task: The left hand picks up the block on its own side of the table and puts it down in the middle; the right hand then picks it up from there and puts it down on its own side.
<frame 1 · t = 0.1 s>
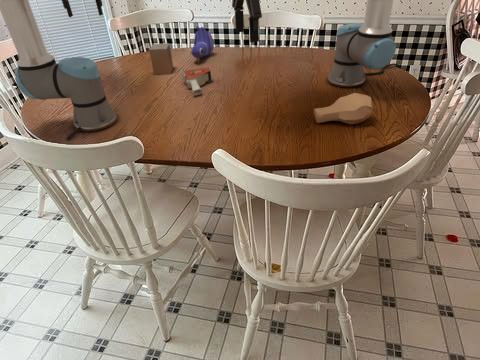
left hand: (86, 15, 157), 28 cm above the table, tool pointing down, fingers open, 13 cm apart
right hand: (246, 36, 115), 28 cm above the table, tool pointing down, fingers open, 13 cm apart
block: (163, 71, 177), on the table
toy: (202, 58, 190), on the table
squash: (342, 120, 124), on the table
tape dispenser: (195, 86, 158), on the table
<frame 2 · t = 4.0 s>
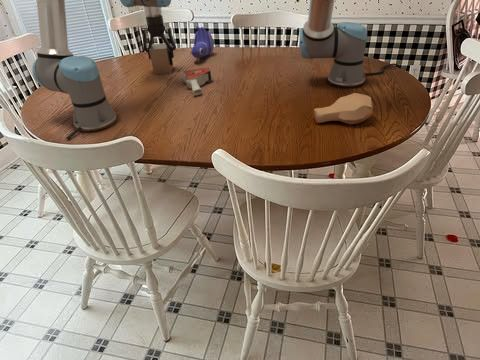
left hand: (162, 65, 175), 3 cm above the table, tool pointing down, fingers closed on block, 8 cm apart
right hand: (312, 0, 163), 27 cm above the table, tool pointing down, fingers open, 13 cm apart
block: (163, 71, 177), on the table, touching left hand
everything else where it was.
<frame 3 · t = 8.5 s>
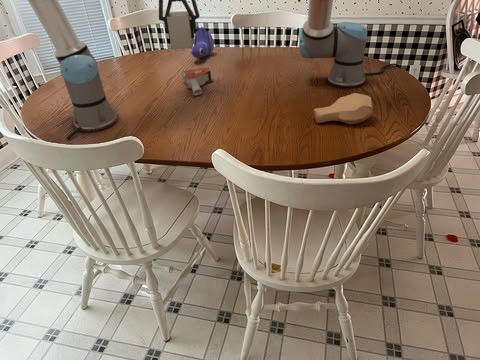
left hand: (182, 38, 142), 22 cm above the table, tool pointing down, fingers closed on block, 8 cm apart
right hand: (313, 0, 164), 27 cm above the table, tool pointing down, fingers open, 13 cm apart
block: (183, 45, 144), point 19 cm above the table, touching left hand
everything else where it was.
when the left hand's fingers open (4 cm above the table, at t = 13.0 s): block drops 1 cm, on the table.
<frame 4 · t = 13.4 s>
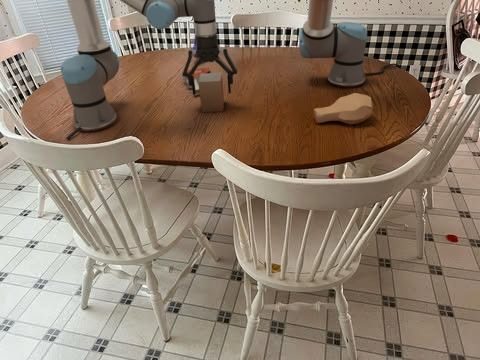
left hand: (212, 92, 136), 6 cm above the table, tool pointing down, fingers open, 13 cm apart
right hand: (313, 0, 164), 27 cm above the table, tool pointing down, fingers open, 13 cm apart
block: (213, 106, 139), on the table
everything else where it was.
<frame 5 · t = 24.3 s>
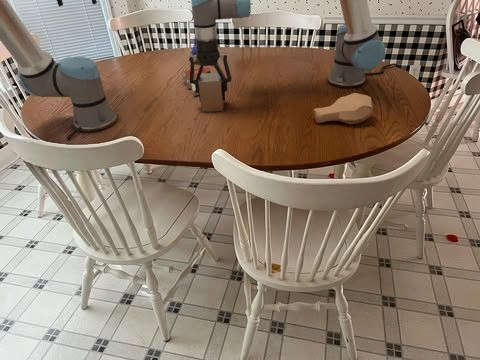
left hand: (78, 4, 140), 35 cm above the table, tool pointing down, fingers open, 13 cm apart
right hand: (212, 99, 137), 3 cm above the table, tool pointing down, fingers closed on block, 8 cm apart
block: (213, 106, 139), on the table, touching right hand
everything else where it was.
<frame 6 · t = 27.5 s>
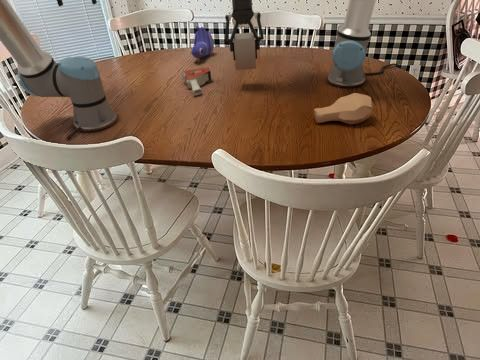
left hand: (78, 4, 140), 35 cm above the table, tool pointing down, fingers open, 13 cm apart
right hand: (245, 58, 146), 12 cm above the table, tool pointing down, fingers closed on block, 8 cm apart
block: (245, 65, 148), point 9 cm above the table, touching right hand
everything else where it was.
when the right hand's fingers open (4 cm above the table, at t = 31.0 s): block drops 1 cm, on the table.
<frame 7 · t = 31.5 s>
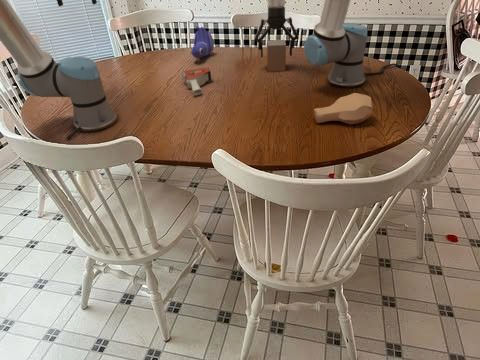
left hand: (78, 4, 140), 35 cm above the table, tool pointing down, fingers open, 13 cm apart
right hand: (276, 55, 168), 6 cm above the table, tool pointing down, fingers open, 13 cm apart
block: (276, 68, 171), on the table
everything else where it was.
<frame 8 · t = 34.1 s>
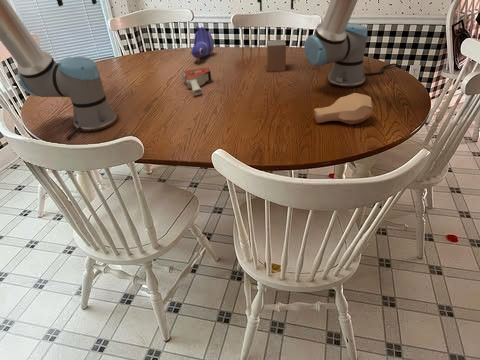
left hand: (78, 4, 140), 35 cm above the table, tool pointing down, fingers open, 13 cm apart
right hand: (276, 9, 156), 26 cm above the table, tool pointing down, fingers open, 13 cm apart
nothing on the table moved.
at the end: block inside the target area (0.1 cm from its centre), on the table; block tilted 0°; the two hands never held the block at the same time; the left hand is holding nothing; the right hand is holding nothing; block at rest at the end (0.0 cm/s) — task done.
